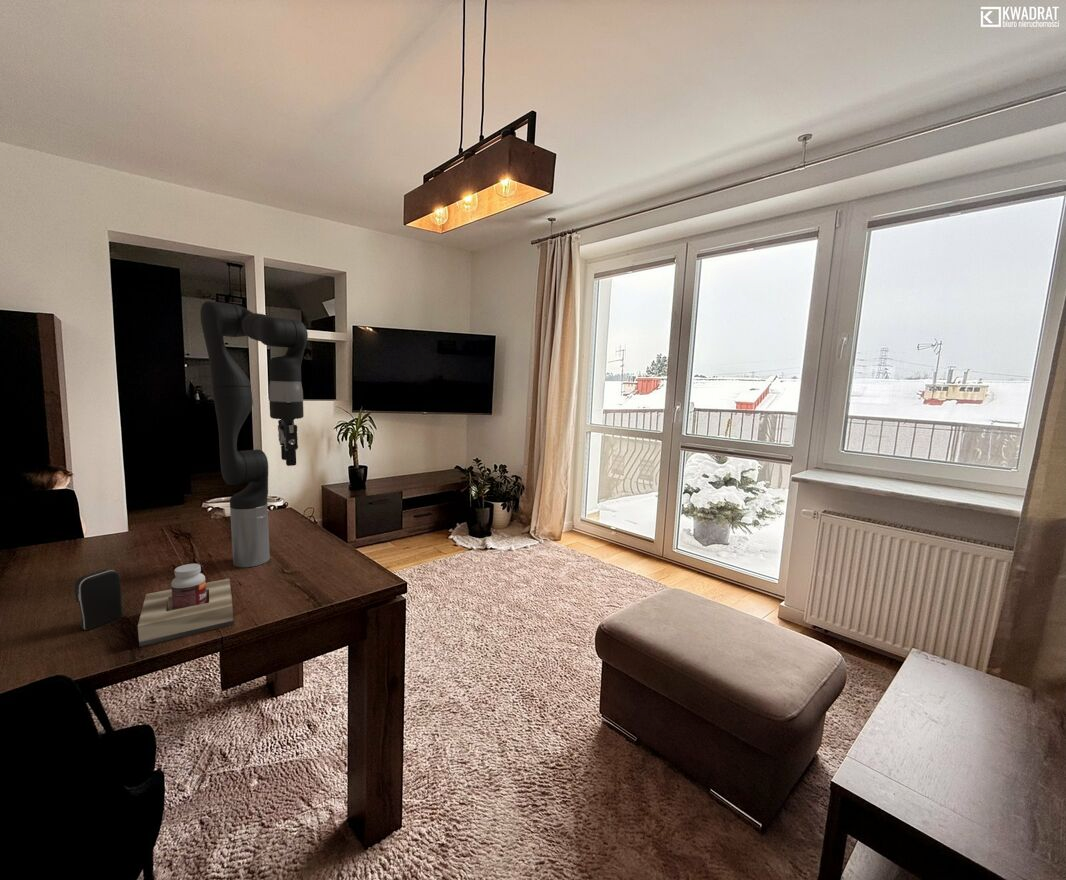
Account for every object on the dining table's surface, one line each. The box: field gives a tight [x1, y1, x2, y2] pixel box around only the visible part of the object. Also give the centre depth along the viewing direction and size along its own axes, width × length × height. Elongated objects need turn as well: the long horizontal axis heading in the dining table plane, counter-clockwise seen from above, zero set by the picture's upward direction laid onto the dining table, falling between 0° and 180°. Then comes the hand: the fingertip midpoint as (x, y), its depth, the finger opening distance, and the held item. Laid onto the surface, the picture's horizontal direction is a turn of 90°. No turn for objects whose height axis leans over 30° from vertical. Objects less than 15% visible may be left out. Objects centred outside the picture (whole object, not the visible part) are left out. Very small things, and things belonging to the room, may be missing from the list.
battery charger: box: [74, 569, 124, 631], centre depth 100 cm, size 7×4×11 cm, turn 160°
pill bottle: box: [170, 563, 207, 610], centre depth 103 cm, size 6×6×11 cm
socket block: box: [137, 578, 234, 648], centre depth 103 cm, size 16×16×4 cm
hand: (288, 462), depth 117 cm, fingers open, 8 cm apart
